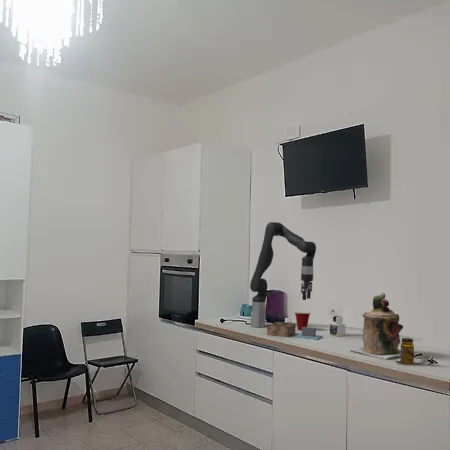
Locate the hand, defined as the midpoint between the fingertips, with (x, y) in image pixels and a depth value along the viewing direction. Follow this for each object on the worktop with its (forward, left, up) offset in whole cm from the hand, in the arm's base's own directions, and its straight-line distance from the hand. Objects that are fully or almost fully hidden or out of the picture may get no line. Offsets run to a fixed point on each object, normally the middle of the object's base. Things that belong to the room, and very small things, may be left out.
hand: (306, 299), depth 312 cm
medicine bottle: (+16, +17, -23) cm, 33 cm away
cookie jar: (+50, -25, -24) cm, 61 cm away
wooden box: (-15, -2, -23) cm, 28 cm away
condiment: (+65, -43, -23) cm, 81 cm away
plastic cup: (-10, +24, -23) cm, 35 cm away
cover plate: (+3, -2, -24) cm, 24 cm away
